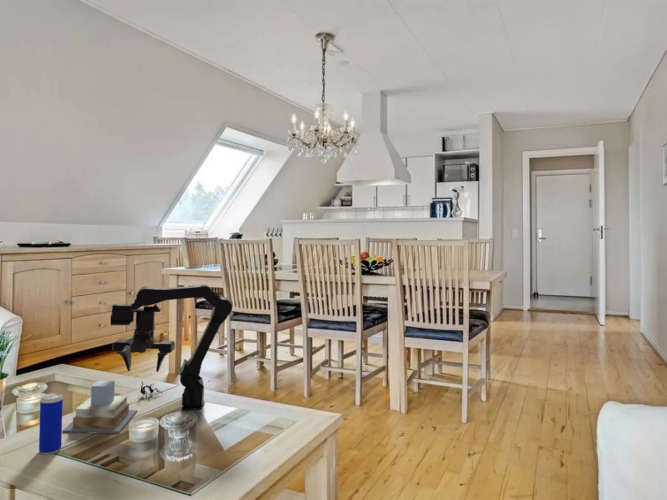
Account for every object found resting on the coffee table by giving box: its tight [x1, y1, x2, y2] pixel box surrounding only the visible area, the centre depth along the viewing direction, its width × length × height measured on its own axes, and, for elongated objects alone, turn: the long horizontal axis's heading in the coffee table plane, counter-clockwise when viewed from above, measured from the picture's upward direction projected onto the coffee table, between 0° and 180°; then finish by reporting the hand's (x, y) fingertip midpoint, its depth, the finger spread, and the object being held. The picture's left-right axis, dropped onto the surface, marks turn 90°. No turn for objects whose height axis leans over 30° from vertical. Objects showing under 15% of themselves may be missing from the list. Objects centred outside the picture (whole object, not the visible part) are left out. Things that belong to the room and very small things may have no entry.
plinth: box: [72, 395, 130, 428], centre depth 146 cm, size 12×12×6 cm
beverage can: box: [38, 392, 64, 455], centre depth 126 cm, size 5×5×15 cm
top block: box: [90, 380, 116, 406], centre depth 146 cm, size 5×5×6 cm
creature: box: [140, 381, 163, 400], centre depth 170 cm, size 8×5×8 cm
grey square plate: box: [62, 409, 138, 434], centre depth 146 cm, size 16×16×1 cm
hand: (143, 371), depth 156 cm, fingers open, 9 cm apart
